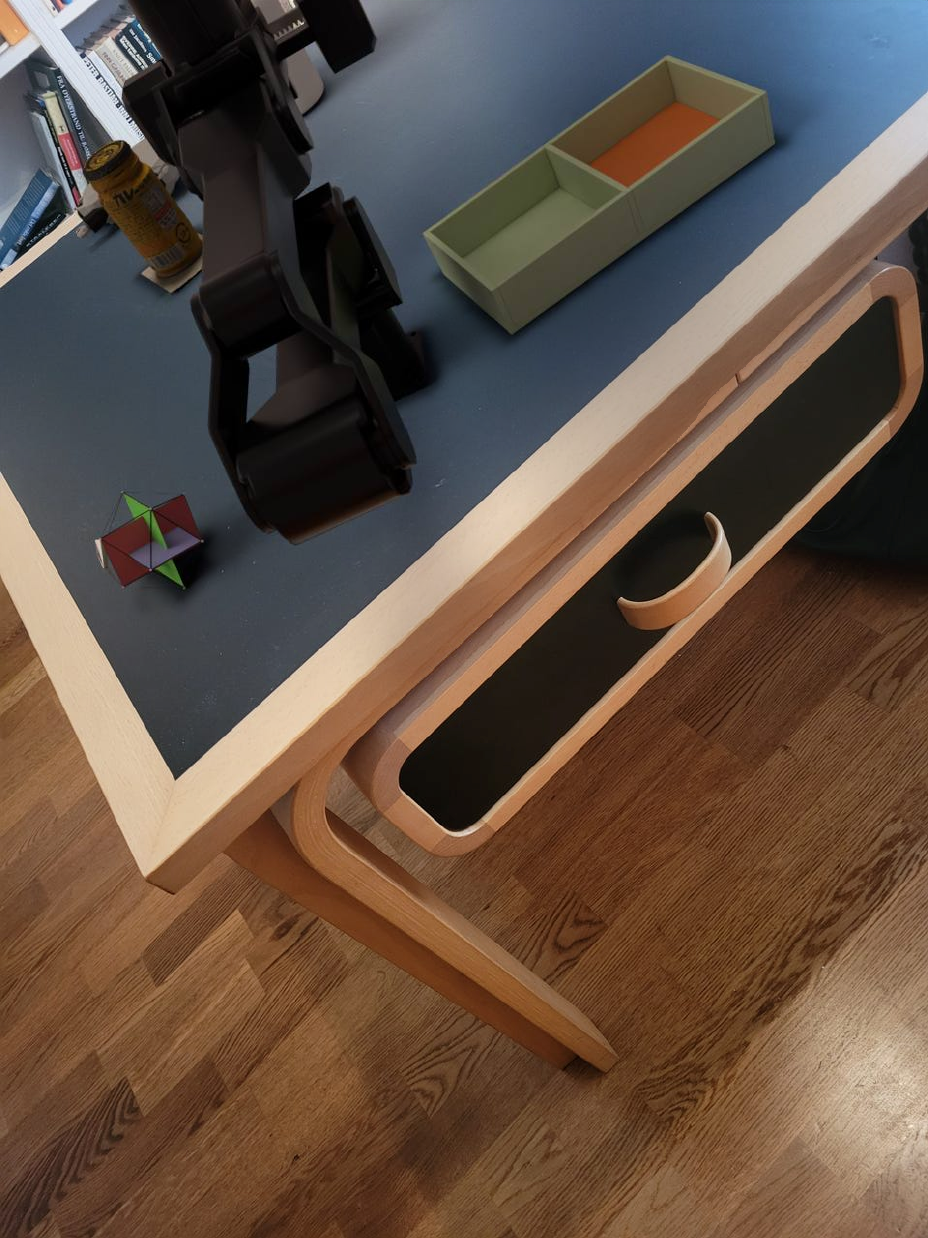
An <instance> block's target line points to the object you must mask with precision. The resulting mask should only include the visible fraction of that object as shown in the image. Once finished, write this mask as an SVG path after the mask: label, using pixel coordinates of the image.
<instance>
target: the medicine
mask: <svg viewBox="0 0 928 1238" xmlns="http://www.w3.org/2000/svg"><path fill="white" fill-rule="evenodd" d="M251 2H252V3H253V5H254V7H255V8H256V7H258V6H259V8H260V10H261V12H262V14H263V15H264V17H265V19H266V21H267V23H270V22H271V21H273V20H275V19H276V18H278V17H280V16H281V15H283V14H285V13H286V11H285V9H284V8H283V6H282V4H281V2H280V0H251ZM288 28H289V31H288V32H287V31H286V30H285V29H284V34H282V33H281V32H280V31H279V35H280V37H278V36H277V35H276V34H274V36H275V41H276V40H277V39H279V38H281V37H282V36H284V35H286V34H287V33H289V32H291V31H292V30H294V29H295V28H293V29H292V28H291V27H290V26H288ZM286 61H287V65H288V76H289V78H290V80H291V82H292V83H293V85H294V87H295V89H296V91H297V93H298V98H297V99H295V102H296V104H297V106H298V108H299V110H300V113H301V115H302V116H303V114H305V113H306V112H307V111H309V110H310V109H311V108H312V107H313V106H314V105H315V104H316V103H317V102H318V101H319V99H320V98H321V96H322V94H323V92H324V89H325V88H324V83H323V80H322V78H321V76H320V73H319V72H318V70H317V68H316V67H315V65H314V62H313V61H312V59H311V57H310V56H309V54H308V52H307V50H306V47H305V48H303V49H301V50H300V51H298V52H296V53H295V54H293V55H291V56H289V57H288V58H286Z"/></svg>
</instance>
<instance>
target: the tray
mask: <svg viewBox="0 0 928 1238" xmlns="http://www.w3.org/2000/svg"><path fill="white" fill-rule="evenodd" d="M774 134H775V133H774V128H773V122H772V115H771V110H770V103H769V97H768V91H766V90H764V89H761V88H758V87H757V86H753V85H751V84H747V83H744V82H742V81H739V80H736V79H734V78H731V77H728V76H726V75H724V74H721V73H718V72H715V71H713V70H709V69H707V68H704V67H701V66H698V65H696V64H694V63H691V62H687V61H685V60H682V59H679V58H677V57H674V56H672V55H669V54H667V55H666V56H664V57H663V58H661V59H660V60H658V61H657V62H656V63H655V64H653V65H652V66H650V67H648V69H646V70H644V71H643V72H642V73H641V74H639V75H638V76H636V77H635V78H634V79H632V80H631V81H629V82H628V83H626V84H625V85H624V86H623V87H621V88H620V89H618V90H617V91H616V92H614V93H613V94H611V95H610V96H609V97H608V98H606V99H605V100H603V101H602V102H601V103H599V104H598V105H597V106H595V107H594V108H593V109H591V110H589V111H588V112H587V113H585V114H584V115H583V116H582V117H580V118H579V119H578V120H576V121H575V122H573V123H572V124H571V125H569V126H568V127H566V128H565V129H563V130H562V131H561V132H559V133H558V134H556V136H554V137H553V138H551V139H550V140H549V141H547V142H546V143H545V144H543V145H542V146H540V147H539V148H538V149H536V150H535V151H534V152H532V153H531V154H530V155H528V156H526V157H525V158H523V159H522V161H520V162H518V163H516V165H514V166H513V167H511V168H510V169H509V170H507V171H506V172H505V173H504V174H502V175H500V176H499V177H498V178H497V179H495V180H493V182H491V183H489V184H488V185H487V186H485V187H484V188H483V189H482V190H480V191H479V192H477V193H476V194H475V195H473V196H472V197H470V198H469V199H467V200H466V201H465V202H463V203H462V204H461V205H459V206H457V208H456V209H454V210H453V211H451V212H450V213H448V214H447V215H446V216H444V217H443V218H441V219H440V220H438V221H437V222H436V223H434V224H433V225H432V226H431V227H429V228H428V229H426V230H425V231H424V232H422V235H423V237H424V240H425V241H426V243H427V245H428V247H429V249H430V251H431V252H432V255H433V256H434V259H435V260H436V262H437V264H438V267H439V268H440V270H441V272H442V275H444V276H445V277H446V278H447V279H448V280H449V281H451V282H452V283H453V284H454V285H455V286H456V287H457V288H458V289H460V290H461V291H462V292H463V293H464V294H465V295H466V296H467V297H468V298H470V299H471V300H472V301H473V302H474V303H475V304H476V305H477V306H478V307H480V308H481V309H482V310H483V311H485V312H486V313H487V314H488V315H489V316H490V317H491V318H492V319H494V321H495V322H497V323H498V324H499V325H500V326H501V327H502V328H503V329H505V330H506V332H508V333H509V334H510V335H514V334H515V333H517V332H518V331H519V330H521V329H522V328H523V327H525V326H526V325H527V324H529V323H530V322H532V321H533V320H534V319H536V318H537V317H538V316H540V315H541V314H543V313H545V311H547V310H548V309H549V308H551V307H552V306H553V305H555V304H557V303H558V302H559V301H561V300H562V299H563V298H565V297H566V296H567V295H569V294H570V293H572V292H573V291H574V290H576V289H577V288H579V287H580V286H581V285H583V284H585V282H586V281H588V280H590V279H591V278H592V277H594V276H595V275H596V274H598V273H600V271H602V270H604V269H605V268H606V267H608V266H609V265H610V264H611V263H613V262H614V261H616V260H617V259H618V258H620V257H621V256H622V255H624V254H625V253H627V252H628V251H630V250H631V249H632V248H634V247H635V246H637V245H638V244H639V243H640V242H642V241H643V240H645V239H646V238H648V237H649V236H650V235H652V234H653V233H654V232H656V231H657V230H658V229H660V228H662V227H663V226H664V225H665V224H667V223H668V222H669V221H671V220H672V219H674V218H675V217H677V216H678V215H679V214H680V213H682V212H683V211H685V210H686V209H687V208H689V207H690V206H692V205H693V204H694V203H696V202H697V201H699V200H700V199H701V198H703V197H704V196H705V195H707V194H708V193H709V192H711V191H712V190H714V189H715V188H716V187H718V186H719V185H720V184H722V183H723V182H725V181H726V180H728V179H730V177H732V176H733V175H734V174H736V173H737V172H738V171H740V170H742V168H744V167H746V166H747V165H748V164H749V163H751V162H752V161H754V160H755V159H757V158H758V157H759V156H760V155H762V154H764V153H765V152H766V151H767V150H769V149H770V148H772V147H773V146H774V145H775V144H776V140H775V135H774Z"/></svg>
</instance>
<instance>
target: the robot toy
mask: <svg viewBox="0 0 928 1238" xmlns="http://www.w3.org/2000/svg"><path fill="white" fill-rule="evenodd" d="M131 149H132V150H133V152H135V154H137V155H138V157H139V159H140V161H141V162H143V163H146V164H148V165H149V166H150V167H151V169H152V170H153V171H154V173H155V174H156V176H157V177H158V178H159V180H160V181H161V182H162V184H163V186H164V187H165V189H166V190H167V191H168V192H169V193H170V195H171V196H172V194H173V192H174V190H175V187H176V186H175V184H176V182H178V180H179V178H181V177H180V174H179V172H178V170H177V168H176V166H175V167H174V166H172V165H169V164H167V163H165V162H163V161H162V160H161V159H160V158H159V157H158V156H157V154H156V153H155V151H154V150H153V148H152V147H151V145H150V144H149V142H148V141H147V139H146V138H145V137H144V138H143V139H141V140H140V141H139V142H137V143H136V144H134V145H133V146H131ZM77 203H78V205H77V207H76V213H77V216H78V217H79V218H80V219H81V220H82V221H83V222H84V223H85V224H83V225H80V226H79V227H78V228H77V229H76V231H75V235H76V236H77V237H78V238H79V239H84V238H86V237H88V236H89V233H90V232H91V231H92V232H93V233H94V234H97V233H98V232H99V231H100V230H101V229H102V228H103V227H104V226H106V225H107V224H110V225H114V224H116V223H115V221H114V220H113V219H112V218H111V217H110V215H109V214H108V213H107V211H106V210H105V209H104V207H103V206H102V205H101V203H100V202H99V199H98V193H97V192H96V191H95V190H94V189H93V188H92V186H91V184H90V182H89V183H88V184H87V185H86V186H85V188H84V190H83V193H82V195H81V197H80V198H79V199H78V201H77Z"/></svg>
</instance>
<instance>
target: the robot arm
mask: <svg viewBox="0 0 928 1238" xmlns="http://www.w3.org/2000/svg"><path fill="white" fill-rule="evenodd" d="M125 1H126V3H127V4H128V6H129V8H130V9H131V11H132V13H133V15H134V17H135V19H136V21H137V22H138V24H139V26H140V28H141V30H142V31H143V32H144V33H145V34H146V35H147V37H149V39H150V41H151V42H152V44H153V45H154V47H155V49H156V50H157V52H158V53H159V55H160V57H161V58H159V60H157V61H155V62H154V63H152V64H150V65H148V66H147V67H145V68H143V69H142V70H140V71H139V72H136V73H135V74H133V75H132V76H130V77H129V78H127V79H125V80H124V81H123V85H122V87H121V96H120V97H121V101H122V104H123V106H124V108H125V110H126V112H127V114H128V115H129V116H130V117H131V119H132V121H133V122H134V124H135V125H136V126H137V128H138V129H139V131H140V133H141V134H142V135H143V136H144V138H146V139H147V141H148V142H149V144H150V145H151V147H152V148H153V150H154V151H155V153H156V154H157V156H158V157H159V158H160V159H161V160H162V161H163V162H165V163H167V164H169V165H172V166H174V167H175V166H176V168H177V170H178V172H179V174H180V177H179V178H180V179H181V181H182V183H183V185H184V187H185V188H186V189H187V191H188V192H189V193H190V194H193V195H195V196H197V197H198V198H199V200H200V201H201V202H202V235H203V241H202V269H201V284H200V285H199V287H198V292H197V293H194V294H193V295H191V296H190V299H189V305H190V310H191V313H192V316H193V319H194V321H195V325H196V326H197V329H198V331H199V332H200V335H201V337H202V339H203V342H204V343H205V346H206V348H207V350H208V353H209V355H210V359H211V360H210V374H209V375H210V376H209V390H208V391H209V392H208V394H209V395H208V409H207V410H208V412H207V429H208V434H209V437H210V439H211V441H212V443H213V446H214V447H215V450H216V452H217V454H218V456H219V459H220V461H221V464H222V465H223V467H224V469H225V472H226V474H227V476H228V478H229V481H230V483H231V485H232V487H233V489H234V492H235V494H236V497H237V499H238V500H239V503H240V504H241V506H242V508H243V510H244V512H245V513H246V516H247V517H248V518H249V520H250V521H251V522H252V524H253V525H254V526H255V527H256V528H257V529H258V530H259V531H261V532H262V533H263V534H266V535H270V534H273V533H274V532H278V533H279V534H280V536H281V537H283V539H285V540H287V541H288V543H289V544H290V545H293V546H295V547H296V546H299V545H301V544H304V543H305V542H308V541H310V540H312V539H315V538H317V537H319V536H321V535H323V534H325V533H327V532H329V531H332V530H334V529H335V528H339V527H340V526H342V525H344V524H347V523H348V522H351V521H353V520H355V519H358V518H360V517H361V516H364V515H365V514H368V513H370V512H372V511H375V510H377V509H379V508H381V507H383V506H386V505H387V504H389V503H392V502H395V501H396V500H398V499H401V498H402V497H404V496H407V495H409V494H410V493H411V492H412V491H411V490H412V488H413V484H414V482H413V479H414V478H413V474H412V469H411V468H412V467H415V466H416V465H417V463H418V460H417V454H416V451H415V448H414V444H413V442H412V440H411V437H410V434H409V432H408V430H407V427H406V425H405V423H404V420H403V419H402V416H401V414H400V412H399V410H398V407H397V405H396V403H395V400H396V399H398V398H401V397H403V396H406V395H408V394H410V393H412V392H415V391H417V390H419V389H422V388H424V387H426V386H427V385H428V384H429V374H428V368H427V362H426V355H425V350H424V349H425V348H424V343H423V338H422V334H421V332H420V331H419V330H418V329H414V330H411V331H409V332H407V333H406V331H405V329H404V328H403V325H402V324H401V322H400V320H399V319H398V317H397V315H396V314H395V312H394V310H393V309H392V308H394V307H399V306H400V305H402V304H404V300H403V297H402V293H401V288H400V285H399V281H398V277H397V273H396V270H395V267H394V266H393V264H392V261H391V259H390V258H389V256H388V254H387V252H386V249H385V247H384V246H383V244H382V242H381V240H380V237H379V236H378V233H377V232H376V230H375V227H374V226H373V223H372V222H371V220H370V217H369V216H368V214H367V211H366V210H365V208H364V207H363V205H362V203H361V201H360V200H359V198H358V197H357V196H356V195H352V196H351V197H349V198H347V199H346V200H345V195H344V192H343V190H342V188H341V187H340V186H336V185H333V186H332V183H330V181H327V182H325V183H323V184H321V185H319V186H318V187H316V188H314V189H313V190H311V191H309V192H307V193H305V194H303V195H302V196H300V195H301V194H302V193H303V192H304V191H305V190H306V189H307V188H308V187H309V186H310V184H311V181H312V173H313V162H312V159H311V156H310V153H309V152H310V151H312V150H313V149H315V143H314V140H313V138H312V135H311V132H310V130H309V127H308V125H307V123H306V121H305V120H304V117H303V114H302V115H301V113H300V110H299V108H298V106H297V104H296V102H295V99H297V98H298V93H297V91H296V89H295V87H294V85H293V83H292V82H291V80H290V78H289V76H288V65H287V61H286V58H288V57H289V56H291V55H293V54H295V53H296V52H298V51H300V50H301V49H303V48H305V49H306V47H308V46H309V45H311V44H314V43H315V45H316V47H317V48H318V50H319V52H320V53H321V55H322V57H323V58H324V60H325V62H326V64H327V65H328V67H329V68H330V70H331V71H332V73H333V74H334V75H337V74H338V73H340V72H342V71H343V70H345V69H346V68H348V67H351V66H352V65H354V64H356V63H357V62H359V61H360V60H362V59H364V58H366V57H368V56H369V55H371V54H374V53H375V49H376V44H377V41H378V38H377V35H376V32H375V30H374V27H373V26H372V24H371V22H370V20H369V17H368V15H367V13H366V11H365V8H364V7H363V4H362V2H361V0H292V3H293V5H294V7H293V8H291V9H290V10H288V11H285V14H283V15H281V16H280V17H278V18H276V19H275V20H273V21H271V22H270V23H267V21H266V19H265V17H264V15H263V14H262V12H261V10H260V8H259V6H258V7H256V8H255V7H254V5H253V3H252V2H251V0H125ZM299 22H300V23H301V25H299ZM294 25H295V26H296V28H294ZM288 26H290V27H291V28H292V29H293V28H294V30H292V31H291V32H289V33H287V34H286V35H284V36H282V37H281V38H279V39H277V40H276V41H275V36H274V34H276V35H277V36H278V37H280V35H279V31H280V32H281V33H282V34H284V29H285V30H286V31H287V32H288V31H289V28H288ZM299 196H300V197H299ZM275 345H276V354H275V355H276V358H275V359H276V360H275V361H276V364H275V366H276V369H275V392H274V393H273V394H272V395H271V396H270V397H269V399H267V400H266V401H265V403H264V404H263V405H262V406H261V407H260V408H259V409H258V410H257V411H256V412H255V413H254V414H253V415H252V416H251V417H250V418H249V420H248V419H247V418H248V406H249V405H248V404H249V388H250V387H249V386H250V372H251V371H250V370H251V368H250V361H249V359H250V358H252V357H254V356H256V355H258V354H260V353H262V352H263V351H266V350H267V349H269V348H271V347H273V346H275ZM247 420H248V421H247Z"/></svg>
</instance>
